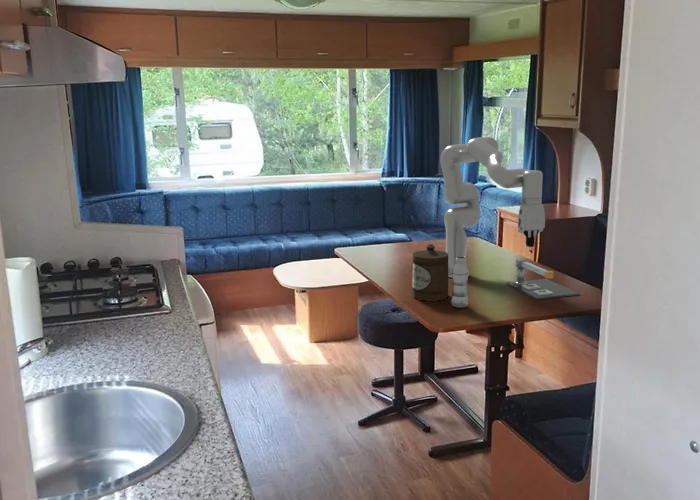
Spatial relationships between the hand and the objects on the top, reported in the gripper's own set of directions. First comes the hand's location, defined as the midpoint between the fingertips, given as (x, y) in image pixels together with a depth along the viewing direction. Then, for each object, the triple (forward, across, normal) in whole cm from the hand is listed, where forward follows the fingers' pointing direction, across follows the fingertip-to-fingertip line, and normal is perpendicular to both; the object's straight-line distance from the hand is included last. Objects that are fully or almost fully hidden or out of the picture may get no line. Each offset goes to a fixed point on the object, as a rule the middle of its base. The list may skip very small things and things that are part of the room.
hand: (530, 246), depth 259 cm
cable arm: (+13, +6, +6) cm, 15 cm away
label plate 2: (+21, +7, 0) cm, 22 cm away
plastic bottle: (+21, -33, -4) cm, 40 cm away
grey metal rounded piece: (+21, +6, +16) cm, 27 cm away
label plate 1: (+21, +7, +9) cm, 24 cm away
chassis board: (+21, +11, +7) cm, 24 cm away
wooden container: (+21, -38, +13) cm, 45 cm away
